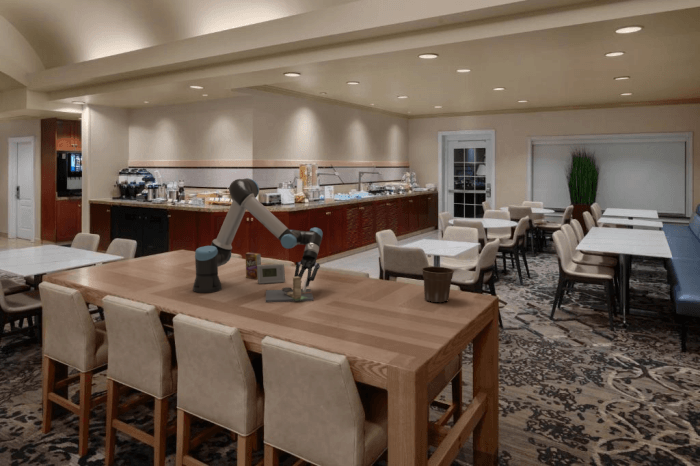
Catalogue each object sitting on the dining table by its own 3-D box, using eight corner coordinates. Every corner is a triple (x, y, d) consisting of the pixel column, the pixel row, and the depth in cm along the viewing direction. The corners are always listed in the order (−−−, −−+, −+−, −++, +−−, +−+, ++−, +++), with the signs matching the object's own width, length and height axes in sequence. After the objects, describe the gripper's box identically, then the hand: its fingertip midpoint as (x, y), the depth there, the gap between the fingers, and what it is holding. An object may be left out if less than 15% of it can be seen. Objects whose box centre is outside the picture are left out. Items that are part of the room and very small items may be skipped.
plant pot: (448, 296, 262) (450, 266, 260) (456, 304, 246) (457, 272, 244) (418, 296, 262) (419, 266, 260) (424, 304, 246) (424, 272, 244)
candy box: (245, 277, 302) (245, 253, 299) (250, 276, 305) (249, 252, 303) (256, 279, 297) (256, 254, 295) (261, 278, 301) (261, 253, 299)
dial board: (265, 303, 245) (265, 297, 245) (266, 292, 267) (266, 286, 267) (314, 302, 249) (314, 296, 248) (310, 290, 271) (310, 285, 270)
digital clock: (256, 284, 285) (256, 266, 283) (257, 281, 294) (257, 263, 292) (285, 284, 286) (284, 266, 285) (285, 280, 295) (285, 263, 294)
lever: (280, 293, 260) (280, 272, 258) (289, 291, 262) (289, 271, 261) (293, 299, 247) (293, 278, 246) (302, 298, 250) (302, 277, 249)
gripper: (295, 248, 264) (284, 286, 251) (323, 250, 261) (313, 288, 247) (298, 256, 270) (287, 293, 257) (326, 258, 267) (317, 296, 253)
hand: (300, 291), depth 252 cm, fingers open, 3 cm apart
